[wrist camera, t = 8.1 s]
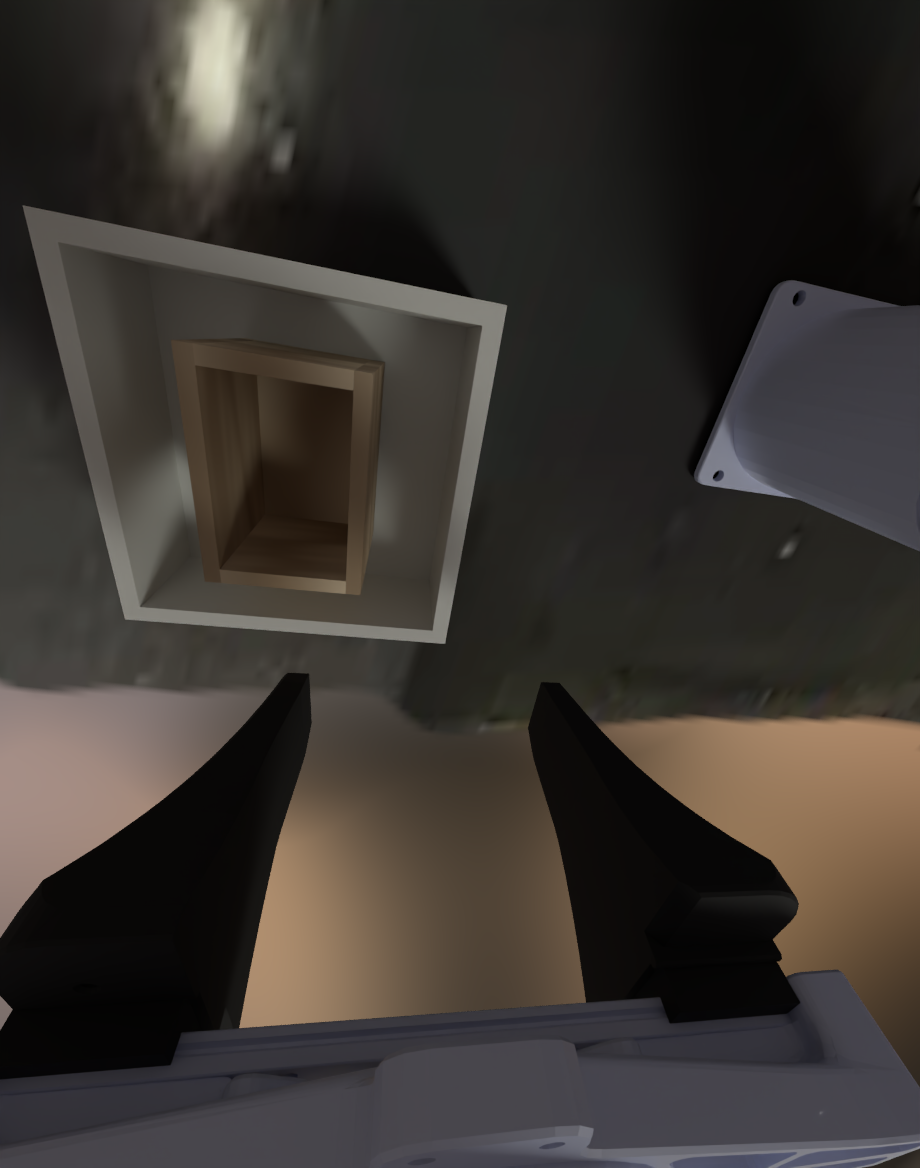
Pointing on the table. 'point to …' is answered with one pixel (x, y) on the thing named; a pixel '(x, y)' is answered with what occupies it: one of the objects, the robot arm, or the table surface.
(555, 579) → the table surface
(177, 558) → the storage crate
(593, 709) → the table surface
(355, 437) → the wood crate
